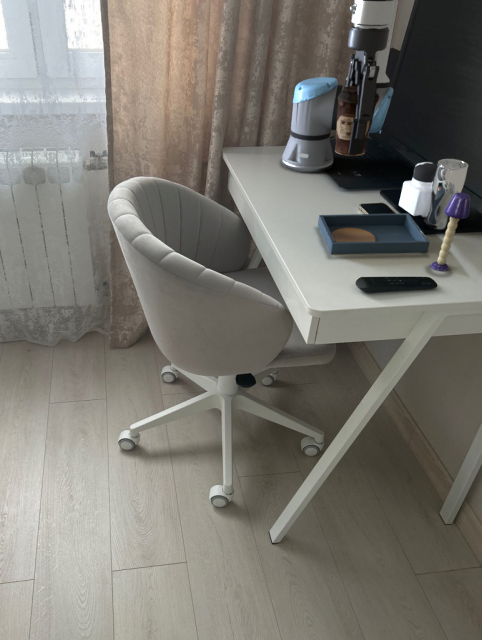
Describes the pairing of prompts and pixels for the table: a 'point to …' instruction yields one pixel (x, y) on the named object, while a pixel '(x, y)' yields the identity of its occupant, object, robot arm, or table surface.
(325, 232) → the tray
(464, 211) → the toy lamp
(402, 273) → the table surface
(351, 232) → the coaster
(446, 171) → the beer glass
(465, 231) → the table surface
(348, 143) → the coffee cup
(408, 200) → the medicine bottle
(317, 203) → the table surface
